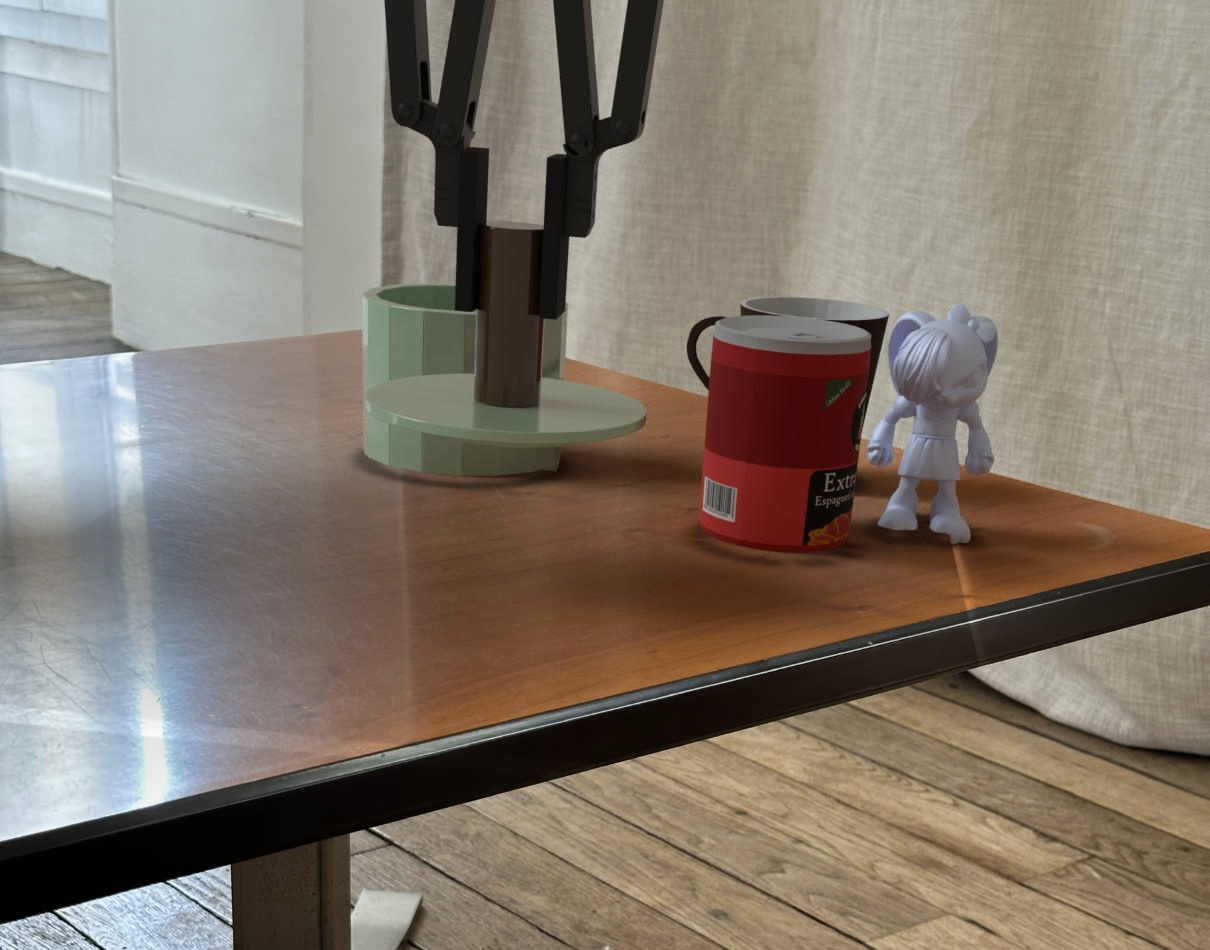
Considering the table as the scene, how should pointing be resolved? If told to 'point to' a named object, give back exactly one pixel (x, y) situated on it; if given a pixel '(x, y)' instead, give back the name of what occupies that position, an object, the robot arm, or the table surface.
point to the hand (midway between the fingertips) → (510, 309)
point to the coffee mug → (805, 308)
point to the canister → (429, 345)
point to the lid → (507, 367)
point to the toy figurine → (936, 412)
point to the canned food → (783, 432)
